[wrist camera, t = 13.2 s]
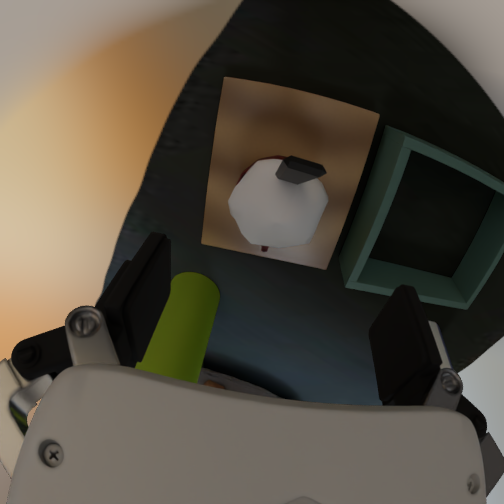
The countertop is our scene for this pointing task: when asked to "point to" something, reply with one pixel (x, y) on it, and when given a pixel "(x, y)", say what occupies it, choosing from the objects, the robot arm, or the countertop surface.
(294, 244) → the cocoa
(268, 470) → the robot arm
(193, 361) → the soap dispenser
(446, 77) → the countertop surface
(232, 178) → the cutting board
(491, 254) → the crate
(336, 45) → the countertop surface
